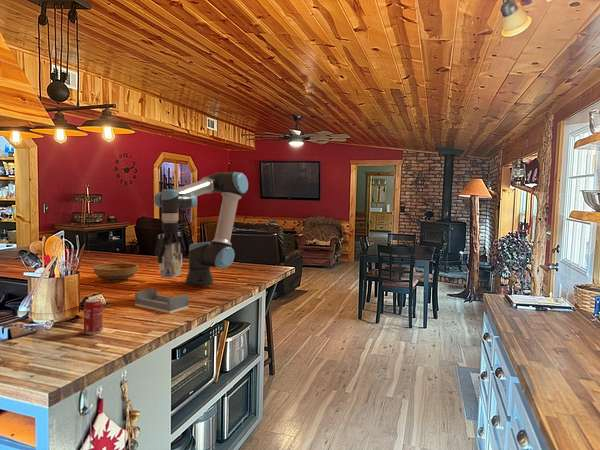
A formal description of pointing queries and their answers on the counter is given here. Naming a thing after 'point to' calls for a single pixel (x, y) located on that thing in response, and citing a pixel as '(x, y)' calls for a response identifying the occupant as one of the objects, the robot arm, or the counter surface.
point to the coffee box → (172, 260)
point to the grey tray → (161, 301)
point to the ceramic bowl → (115, 271)
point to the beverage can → (93, 316)
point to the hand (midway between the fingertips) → (170, 268)
